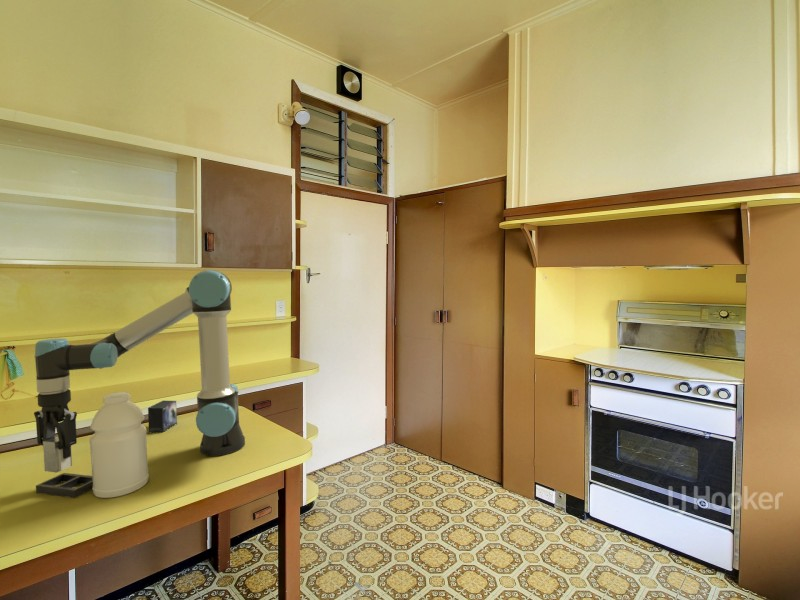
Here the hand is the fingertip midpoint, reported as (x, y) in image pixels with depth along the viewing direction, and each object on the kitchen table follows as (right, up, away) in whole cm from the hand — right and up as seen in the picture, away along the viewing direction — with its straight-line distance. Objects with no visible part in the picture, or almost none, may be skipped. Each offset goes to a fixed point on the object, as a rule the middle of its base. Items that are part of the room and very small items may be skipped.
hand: (58, 467), depth 121 cm
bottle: (+19, -6, 0) cm, 20 cm away
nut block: (0, 0, 0) cm, 0 cm away
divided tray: (+4, -6, 0) cm, 7 cm away
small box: (+3, -4, +49) cm, 49 cm away
